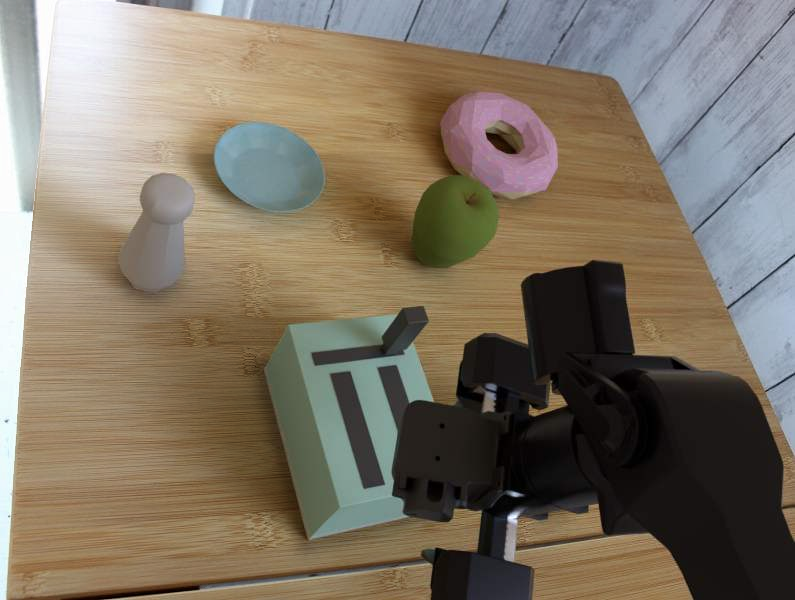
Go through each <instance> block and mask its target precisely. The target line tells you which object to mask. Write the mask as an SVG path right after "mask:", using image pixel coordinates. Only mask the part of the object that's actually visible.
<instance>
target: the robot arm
mask: <svg viewBox="0 0 795 600" xmlns="http://www.w3.org/2000/svg"><path fill="white" fill-rule="evenodd" d="M520 292H521V298H522V306H523V314H524V323H525V328H526V329H525V330H526V338H527V343H525V342H522V341H519V340H516V339H514V338H511V337H508V336H506V335H502V334H500V333H497V332H483V333H481V334H479V335H477V336H476V337H474V338H471V339H470V340H469V341H467V342H466V343H464V345H463V352H462V359H461V361H460V363H459V367H458V375H457V380H456V381H457V383H456V389H455V397H456V399H457V400H456V402H455V403H454V405H452V404H446V403H441V402H435V401H434V402H431V401H425V400H415V401H412V402H411V403H409V404H408V405H407V407H406V409H405V411H404V413H403V416H402V418H401V421H400V423H399V427H398V433H397V440H396V446H395V452H394V458H393V463H392V471H391V473H392V477H393V480H394V483H393V490H392V496H393V497H397V498H401V499H402V500H403V502H404V505H403V514H404V515H407V516H409V517H408V518H415V519H421V520H425V521H432V522H437V523H449V522H450V521H451V520H452V519H454V513H455V510H456V509H457V510H468V511H472V512H481V514H480V523H479V529H478V530H479V531H478V540H477V548H476V552H474V551H468V550H460V549H444V548H441V547H437V546H436V547H434V548H429V547H428V548H424V549H423V550H421V551H420V552H421V553H420V557H422V559H424V560H425V561H427V562H428V564H430V565H431V566H432V568H431V575H430V582H429V583H430V584H429V588H430V592H431V593H430V599H429V600H533V596H534V595H533V594H534V593H533V592H534V582H535V571H536V570H535V569H534V568H533V567H532V566H531V565H527V564H523V563H518V562H515V557H516V548H517V537H518V527H519V518H527V519H532V520H536V521H544V520H549V513H553V512H559V511H565V512H569V513H571V514H576V515H583V514H588V513H589V509H590V506H593V505H598V511H599V518H600V525H601V531H602V533H603V534H604V535H605V536H606V537H614V536H615V537H616V536H617V537H618V536H632V535H633V536H634V535H647V534H648V535H649V534H650V535H651V536H652V537H653V538H654V539H656V541H658V542H659V543H660V544H661V545H662V546H663V547H664V548H666V549H667V550H668V552H669V553H670V555H671V557H672V558H673V560H674V562H675V564H676V565H677V566H678V569H679V570H680V572H681V575H682V577H683V579H684V581H685V584H686V586H687V589H688V591H689V593H690V595H691V598H692V600H795V539H794V537H793V535H792V533H791V530H790V528H789V524H788V522H787V519H786V517H785V514H784V511H783V501H784V500H783V499H784V482H785V480H784V479H785V465H784V460H783V458H782V455H781V453H780V450H779V448H778V444H777V442H776V439H775V437H774V434H773V432H772V429H771V426H770V424H769V421H768V419H767V415H766V412H765V410H764V408H763V405H762V403H761V401H760V399H759V396H758V395H757V394H756V392H755V391H754V390H753V388H752V387H751V385H749V383H748V382H747V381H746V380H744V379H743V377H740V376H739V375H733V374H731V373H727V372H723V371H720V370H719V371H718V370H704V369H703V370H702V369H701V370H700V369H698V368H697V367H695V366H694V365H692V364H690V363H688V362H687V361H684V360H682V359H681V358H679V357H677V356H676V355H674V356H673V355H671V356H670V355H654V354H653V355H650V354H636V350H635V348H636V347H635V342H634V338H633V332H632V331H633V330H632V325H631V318H630V313H629V307H628V302H627V301H628V300H627V282H626V276H625V269H624V264H623V263H622V262H620V261H611V260H600V259H591V260H590V261H588V262H587V263H585V264H584V265H577V266H569V267H568V266H566V267H562V268H556V269H552V270H549V271H545V272H534V273H531V274H529V275H527V277H525V278H524V279H523V280H522V281H521V284H520ZM551 392H552V394H554V395H556V396H561V397H562V398H563V400H564V402H565V403H566V405H563V406H561V407H557V408H555V409H551V410H549V411H546V412H543V413H540V414H537V415H532V414H530V408H532V409H533V410H537V411H542V410H546V409H549V406H550V405H549V404H550V393H551Z"/></svg>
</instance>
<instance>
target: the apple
mask: <svg viewBox="0 0 795 600" xmlns="http://www.w3.org/2000/svg"><path fill="white" fill-rule="evenodd" d="M497 203H498V202H497V201H496V198H495V197H494V195H492V194H491V193H490V191H489V190H488V189H487V188H486V187H485V186H484V185H482V184H481V183H480V182H479V181H476V180H474V179H471V178H469V177H467V176H464V175H461V174H449V175H447V176H444V177H442V178H440V179H437V180H436V181H434V182H433V183H431V184H429V186H428V187H427V188H426V189H425V190H424V192H423V193H422V194H421V196H420V198H419V201H418V204H417V206H416V208H415V211H414V215H413V222H412V231H411V239H410V240H411V241H410V242H411V247H412V250H413V252H414V254H415V255H416V256H417V258H418V259H419V261H420V262H421V263H422V264H423V265H424V266H425V267H428V268H429V269H448V268H451V267H453V266H456V265H458V264H460V263H463V262H466V261H468V260H470V259H473V258H475V257H476V256H478V254H480V252H482V250H484V249H485V248H486V247H487V246H488V245H489V244H490V243H491V241H492V240H493V238H494V237H496V234H497V230H498V226H499V218H500V211H499V208H498V204H497Z"/></svg>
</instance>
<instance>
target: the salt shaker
mask: <svg viewBox="0 0 795 600" xmlns="http://www.w3.org/2000/svg"><path fill="white" fill-rule="evenodd" d="M193 188H194V187H193V186H192V185H191V184H190V183H189V182H188V181H187V180H186V179H185V178H183V177H181V176H179V175H177V174H175V173H167V172H160V173H156V174H153V175H151V176H150V177H148V179H147V180H146V181H144V183H143V185H142V188H141V191H140V193H139V203H140V206H141V209H142V212H141V214H140V216H139V217H138V218H137V220H136V222H135V224H134V225H133V227H132V228H131V230H130V232H129V234H128V235H127V236H126V239H125V240H124V242H123V243H122V245H121V248H120V250H119V253H118V257H117V259H118V264H119V268H120V271H121V274H122V275H123V276H124V277H125V278H126V279H127V280H128V281H129V282H130V284H131V285H132V287H133V289H134V290H137V291H141V292H145V293H149V294H154V295H155V294H157V293H159V292H160V291H162V290H164V289H166V288H169V287H171V286H173V285H175V283H176V282H177V281H179V279H180V278H182V276H183V274H184V271H185V266H186V247H185V225H184V221H185V220H186V219H187V218H188V217H190V215H192V213H193V210H194V206H195V201H196V196H195V192H194V189H193Z"/></svg>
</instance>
